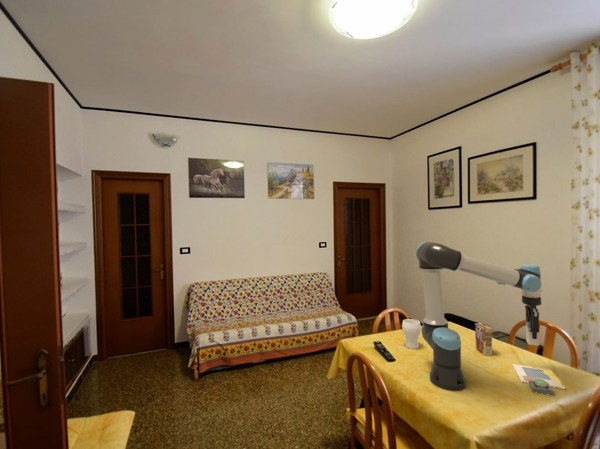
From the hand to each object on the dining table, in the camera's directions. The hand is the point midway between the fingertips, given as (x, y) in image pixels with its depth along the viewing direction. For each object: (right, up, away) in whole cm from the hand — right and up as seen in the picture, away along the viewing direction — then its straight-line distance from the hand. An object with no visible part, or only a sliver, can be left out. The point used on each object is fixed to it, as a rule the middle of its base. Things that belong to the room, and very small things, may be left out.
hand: (532, 342), depth 145 cm
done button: (-10, -13, -16) cm, 23 cm away
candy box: (-11, -14, +22) cm, 28 cm away
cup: (-48, -15, +32) cm, 59 cm away
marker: (0, 0, 0) cm, 0 cm away
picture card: (-2, -14, -5) cm, 15 cm away
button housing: (-10, -14, -16) cm, 24 cm away
